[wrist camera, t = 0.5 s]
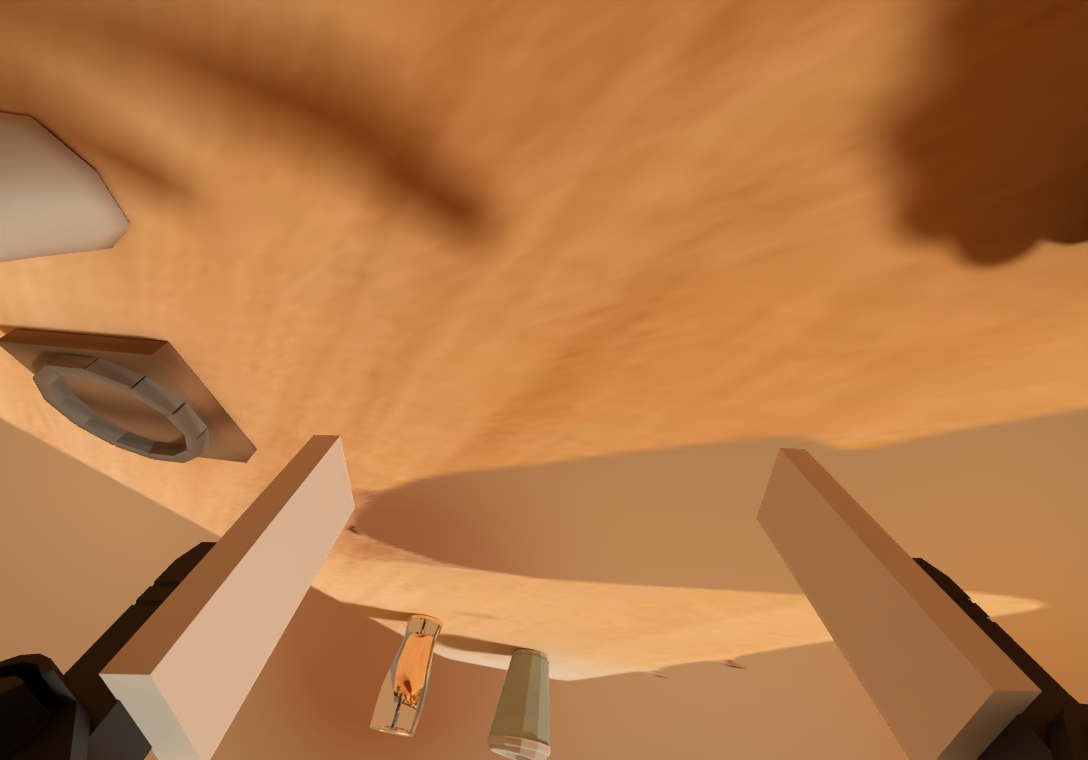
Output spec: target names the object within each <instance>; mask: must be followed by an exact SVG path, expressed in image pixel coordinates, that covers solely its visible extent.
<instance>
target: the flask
mask: <svg viewBox="0 0 1088 760" xmlns="http://www.w3.org/2000/svg"><path fill="white" fill-rule="evenodd" d="M130 226H131V225H130V223H129V222H128V220H127V219H126V217H125V216H124V214H123V212H122V211H121V209H120V208H119V206H118V205H117V203H116V201H115V200H114V198H113V197H112V195H111V194H110V192H109V190H108V189H107V187H106V186H105V184H104V183H103V181H102V179H101V178H100V176H99V175H98V173H97V172H96V171H95V170H94V169H93V168H91V167H90V166H89V165H88V164H87V163H85V162H84V161H83V160H82V159H81V158H79V157H78V156H77V155H76V154H75V153H74V152H72V151H71V150H70V149H69V148H68V147H66V146H65V145H64V144H63V143H62V142H60V141H59V140H58V139H57V138H56V137H54V136H53V135H52V134H51V133H50V132H49V131H47V130H46V129H45V128H44V127H43V126H41V125H40V124H39V123H38V122H37V121H35V120H34V119H33V118H32V117H30V116H23V115H16V114H9V113H2V112H0V262H7V261H13V260H20V259H27V258H34V257H42V256H51V255H60V254H68V253H77V252H86V251H94V250H101V249H108V248H112V247H113V246H114V245H115V244H116V243H117V242H118V240H119V239H120V238H121V237H122V236H123V234H124V233H125V232H126V231H127V230H128V228H129V227H130Z"/></svg>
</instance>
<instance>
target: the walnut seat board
mask: <svg viewBox="0 0 1088 760" xmlns="http://www.w3.org/2000/svg"><path fill="white" fill-rule="evenodd" d="M0 346H1V347H2V348H4V349H5V350H6V351H7V352H8V353H9V354H11V355H12V356H13V357H14V358H15V359H17V360H18V361H19V362H20V363H21V364H23V365H24V366H25V367H26V368H27V369H29V370H30V371H31V372H32V373H33V374H34V375H35V376H33V380H34V382H35V383H36V385H37V387H38V389H39V391H40V392H41V394H42V396H43V398H44V400H46V402H48V403H49V404H50V405H51V406H53V407H54V408H55V409H56V410H58V411H59V412H60V413H61V414H63V415H64V416H65V417H66V418H68V419H69V420H70V421H71V422H72V423H74V424H76V425H77V426H78V427H80V428H82V429H84V430H86V431H88V432H89V433H91V434H93V435H95V436H97V437H99V438H101V439H102V440H104V441H106V442H108V443H110V444H112V445H115V446H116V447H119V448H122V449H125V450H127V451H130V452H133V453H136V454H139V455H142V456H145V457H147V458H150V459H152V458H153V459H154V460H162V461H171V462H179V463H185V462H187V461H189V460H192V459H194V458H196V457H203V458H211V459H220V460H228V461H237V462H245V463H247V461H248V460H249V459H250V458H251V456H252V455H253V454H254V452H255V451H256V450H257V449H256V448H255V447H254V445H253V444H252V443H251V442H250V441H249V439H248V438H247V437H246V436H245V434H244V433H243V432H242V431H241V430H240V428H239V427H238V426H237V425H236V424H235V422H234V421H233V420H232V419H231V417H230V416H229V415H228V414H227V413H226V411H225V410H224V409H223V408H222V406H221V405H220V404H219V403H218V402H217V400H216V399H215V398H214V397H213V396H212V394H211V393H210V392H209V391H208V389H207V388H206V387H205V386H204V385H203V383H202V382H201V381H200V380H199V379H198V377H197V376H196V375H195V374H194V372H193V371H192V370H191V369H190V368H189V366H188V365H187V364H186V363H185V361H184V360H183V359H182V358H181V357H180V355H179V354H178V353H177V352H176V351H175V349H174V348H173V347H172V346H171V344H170V343H169V342H165V341H153V340H141V339H129V338H118V337H106V336H94V335H82V334H70V333H58V332H46V331H35V330H23V329H15V330H13V331H12V332H10V333H8V334H7V335H5V336H3V337H1V338H0Z"/></svg>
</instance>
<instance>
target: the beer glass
mask: <svg viewBox="0 0 1088 760" xmlns="http://www.w3.org/2000/svg"><path fill="white" fill-rule="evenodd" d="M442 627H443V623H442V622H441V621H440V620H438V619H436V618H433V617H430V616H426V615H420V614H412V615H410V616H409V617H408V621H407V626H406V632H405V636H404V639H403V642H402V645H401V647H400V649H399V651H398V654H397V655H396V657H395V660H394V662H393V663H392V666H391V667H390V669H389V672H388V674H387V676H386V678H385V681H384V683H383V685H382V688H381V691H380V694H379V697H378V700H377V703H376V707H375V711H374V715H373V718H372V722H371V725H370V728H372V729H375V730H378V731H382V732H386V733H391V734H396V735H401V736H408V737H413V736H414V732H415V729H416V727H417V723H418V721H419V718H420V715H421V712H422V709H423V705H424V702H425V698H426V694H427V689H428V683H429V677H430V670H431V662H432V655H433V650H434V646H435V643H436V641H437V638H438V636H439V634H440V631H441V629H442Z"/></svg>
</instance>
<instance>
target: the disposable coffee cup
mask: <svg viewBox="0 0 1088 760" xmlns="http://www.w3.org/2000/svg"><path fill="white" fill-rule="evenodd" d="M487 744H488V745H489V749H490V750H491V751H493V752H495V753H497V754H500V755H502V756H505V757H508V758H512V759H514V760H546V757H549V755H550V749H551V748H550V741H549V662H548V658H547V655H546V654H544V653H542V652H539V651H536V650H531V649H517V650H516V651H515V652H514V655H513V656H512V659H511V662H510V665H509V669H508V672H507V676H506V679H505V682H504V686H503V690H502V693H501V696H500V700H499V703H498V706H497V710H496V713H495V716H494V720H493V723H492V727H491V730H490V733H489V736H488V740H487Z"/></svg>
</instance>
